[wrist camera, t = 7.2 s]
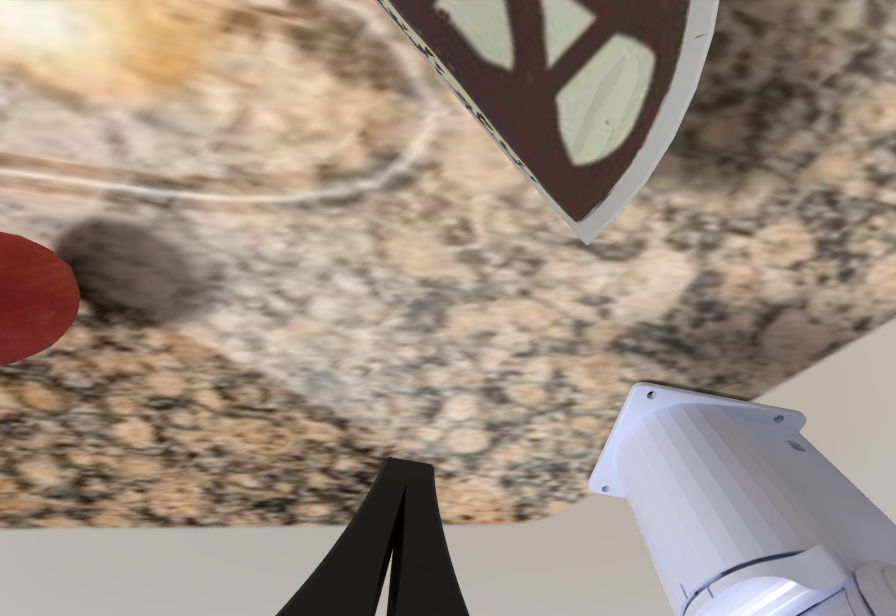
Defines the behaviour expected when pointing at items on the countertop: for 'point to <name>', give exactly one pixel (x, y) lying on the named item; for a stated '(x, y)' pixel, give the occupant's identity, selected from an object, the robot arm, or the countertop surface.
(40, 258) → the red pomegranate
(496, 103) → the food container
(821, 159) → the countertop surface
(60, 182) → the countertop surface
